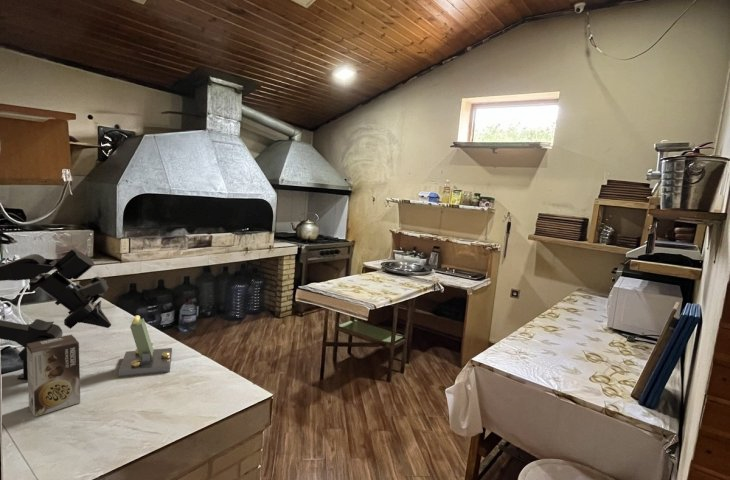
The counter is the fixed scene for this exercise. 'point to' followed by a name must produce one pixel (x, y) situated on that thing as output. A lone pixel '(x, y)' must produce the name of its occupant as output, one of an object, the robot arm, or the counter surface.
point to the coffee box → (53, 374)
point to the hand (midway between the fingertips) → (109, 326)
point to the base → (146, 362)
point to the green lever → (141, 336)
